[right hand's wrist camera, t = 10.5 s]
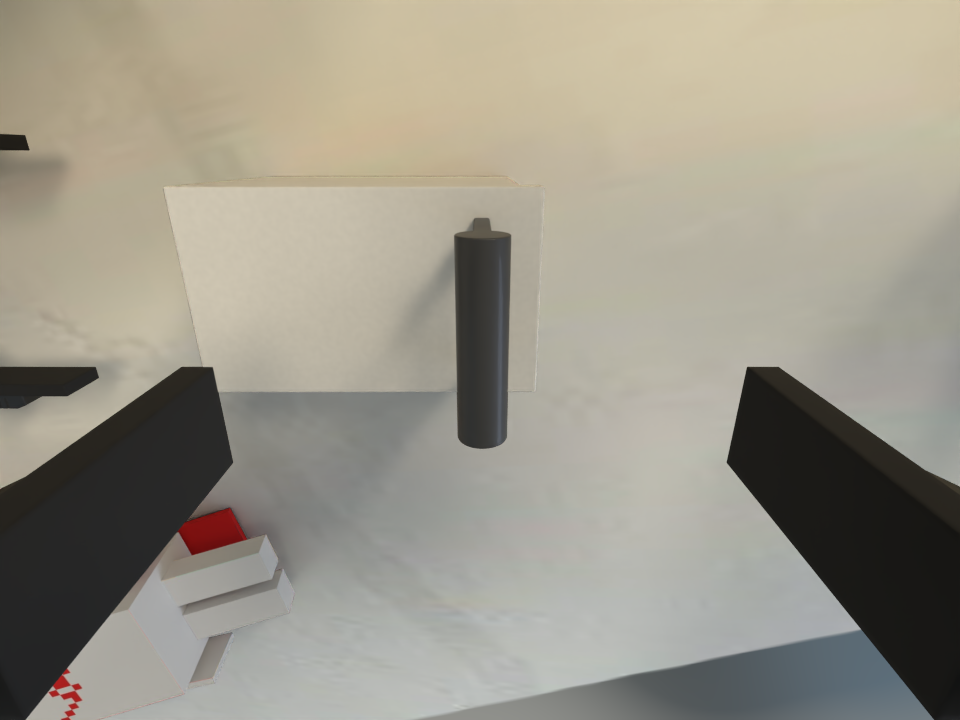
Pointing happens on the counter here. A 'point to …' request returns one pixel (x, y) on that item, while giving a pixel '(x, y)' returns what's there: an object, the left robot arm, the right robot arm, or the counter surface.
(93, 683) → the toy
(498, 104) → the counter surface
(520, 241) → the lid
